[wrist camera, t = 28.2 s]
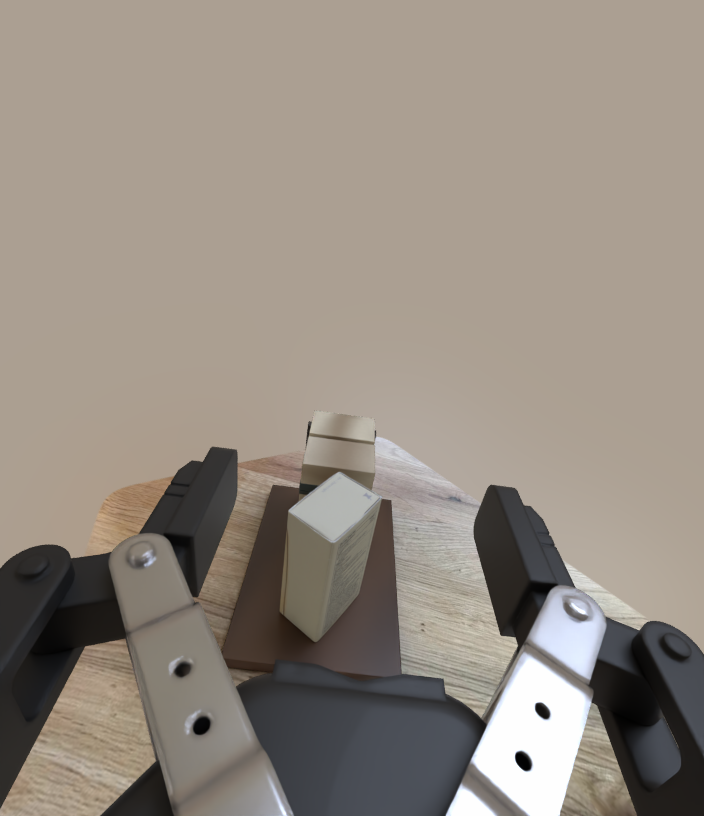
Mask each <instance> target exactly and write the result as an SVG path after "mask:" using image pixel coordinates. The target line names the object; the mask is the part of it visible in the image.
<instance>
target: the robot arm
mask: <svg viewBox="0 0 704 816" xmlns="http://www.w3.org/2000/svg"><path fill="white" fill-rule="evenodd" d="M237 459H238V458H237V450H234V449H227V448H219V447H212V448H210V450H209V452H208V454H207V456H206V457H205V459H204V461H203V462H200V461H191V462H189V463H188V464H187V465H185V466H184V467H182V468H181V469H180V470H178V472H177V473H176V475H175V477H174V478H173V480H172V481H171V484H170V485H169V486H168V488H167V489H166V491H165V494H164V495H163V496H162V497H161V499H160V501H159V502H158V504H157V505H156V507H155V509H154V510H153V512H152V514H151V515H150V517H149V518H148V520H147V522H146V523H145V525H144V526H143V528H142V530H141V531H140V533H139V534H138V535H134V536H132V537H129V538H127V539H126V540H124V541H122V542H121V543H120V544H119V545H117V546H116V547H115V549H114V550H113V551H112V552H109V553H106V554H100V555H93V556H86V557H79V558H71V557H70V554H69V552H68V551H67V550H66V549H65V548H63V547H61V546H58V545H40V546H35V547H32V548H29V549H27V550H24V551H22V552H20V553H19V554H16V555H15V556H13V557H12V558H10V559H9V560H8V561H7V562H6V563H5V564H4V565H3V566H2V567H1V568H0V808H1V806H2V804H3V802H4V801H5V799H6V797H7V795H8V793H9V791H10V789H11V787H12V785H13V783H14V781H15V780H16V778H17V776H18V774H19V772H20V770H21V768H22V766H23V764H24V762H25V760H26V758H27V757H28V755H29V753H30V751H31V749H32V747H33V745H34V743H35V741H36V739H37V737H38V735H39V734H40V732H41V730H42V728H43V726H44V724H45V722H46V720H47V718H48V716H49V714H50V713H51V711H52V709H53V707H54V705H55V703H56V701H57V699H58V697H59V695H60V693H61V691H62V690H63V688H64V686H65V684H66V682H67V680H68V678H69V676H70V674H71V672H72V670H73V669H74V667H75V665H76V663H77V661H78V659H79V657H80V655H81V653H82V651H83V649H84V647H85V646H89V645H95V644H100V643H105V642H110V641H115V640H120V639H126V643H127V647H128V651H129V655H130V659H131V663H132V667H133V671H134V675H135V679H136V682H137V686H138V690H139V694H140V698H141V702H142V707H143V711H144V715H145V719H146V723H147V727H148V731H149V735H150V739H151V743H152V747H153V751H154V755H155V759H156V762H155V763H154V764H153V765H152V766H151V767H150V768H149V769H147V770H146V771H145V772H144V773H143V774H142V775H141V776H140V777H139V778H138V779H137V780H136V781H135V782H134V783H133V784H132V785H131V786H130V787H129V788H128V789H127V790H126V791H125V792H124V793H123V794H122V795H121V796H120V797H119V798H118V799H117V800H116V801H115V802H114V803H113V804H112V805H111V806H110V807H109V808H108V809H107V810H106V811H105V812H104V813H103V814H102V815H101V816H559V814H560V810H561V807H562V803H563V800H564V796H565V793H566V789H567V786H568V782H569V779H570V775H571V772H572V768H573V765H574V761H575V758H576V754H577V751H578V747H579V744H580V740H581V737H582V733H583V730H584V726H585V723H586V719H587V715H588V712H589V708H590V705H591V702H592V703H594V704H596V705H597V706H598V709H599V712H600V715H601V717H602V720H603V723H604V725H605V728H606V731H607V734H608V736H609V739H610V742H611V745H612V747H613V750H614V753H615V756H616V758H617V761H618V764H619V767H620V769H621V772H622V775H623V778H624V780H625V783H626V786H627V789H628V791H629V794H630V797H631V800H632V802H633V805H634V808H635V811H636V813H637V816H704V654H703V653H702V651H701V650H700V648H699V647H698V646H697V645H696V644H695V643H694V642H693V641H692V640H691V639H690V638H689V637H688V636H687V635H686V634H684V633H683V632H681V631H680V630H678V629H676V628H675V627H673V626H671V625H668V624H666V623H663V622H659V621H650V622H647V623H646V624H644V626H643V627H642V628H641V629H640V630H637V629H634V628H632V627H629V626H627V625H624V624H622V623H619V622H617V621H614V620H612V619H610V618H607V617H605V615H604V613H603V611H602V609H601V608H600V606H599V605H598V604H597V603H596V602H595V601H594V600H593V599H592V598H591V597H590V596H589V595H587V594H586V593H584V592H583V591H581V590H579V589H577V588H575V586H574V584H573V581H572V579H571V577H570V575H569V573H568V571H567V569H566V567H565V565H564V563H563V561H562V558H561V556H560V554H559V552H558V550H557V548H556V547H555V546H554V542H553V540H552V538H551V536H549V531H548V529H547V527H546V525H545V523H544V521H543V519H542V518H541V517H540V516H539V515H538V514H537V513H536V512H535V511H534V510H533V508H532V507H531V506H524V505H523V503H522V500H521V498H520V496H519V494H518V491H517V490H516V489H515V488H512V487H504V486H496V485H490V486H489V487H488V488H487V491H486V493H485V496H484V498H483V501H482V503H481V506H480V508H479V511H478V514H477V516H476V519H475V522H474V539H475V543H476V547H477V551H478V554H479V558H480V562H481V565H482V569H483V573H484V576H485V580H486V584H487V587H488V591H489V595H490V598H491V602H492V605H493V609H494V613H495V616H496V620H497V624H498V627H499V631H500V635H501V636H509V637H516V640H517V644H518V647H517V649H516V650H515V652H514V654H513V656H512V658H511V660H510V662H509V664H508V666H507V668H506V670H505V672H504V674H503V676H502V678H501V680H500V682H499V685H498V687H497V689H496V691H495V693H494V695H493V697H492V699H491V701H490V703H489V705H488V706H487V708H486V710H485V712H484V714H483V716H482V718H480V717H479V716H478V715H477V714H476V713H475V712H474V711H472V710H471V709H470V708H469V707H467V706H466V705H465V704H463V703H462V702H460V701H459V700H457V699H455V698H453V697H451V696H449V695H447V694H445V687H444V680H443V679H441V678H432V677H423V676H415V675H406V674H400V675H394V676H388V677H382V678H376V679H370V680H364V681H359V680H355V679H353V678H350V677H348V676H345V675H343V674H340V673H338V672H335V671H333V670H331V669H328V668H326V667H323V666H321V665H318V664H312V663H304V662H295V661H287V660H278V659H275V664H274V669H273V673H268V674H263V675H260V676H257V677H253V678H251V679H249V680H247V681H244V682H243V683H241V684H239V685H237V686H235V684H234V682H233V679H232V677H231V675H230V672H229V670H228V667H227V665H226V663H225V660H224V658H223V655H222V653H221V651H220V648H219V646H218V644H217V641H216V639H215V636H214V634H213V632H212V629H211V627H210V624H209V622H208V620H207V617H206V615H205V613H204V610H203V608H202V606H201V605H200V603H199V602H196V603H195V601H194V600H193V597H198V596H199V593H200V591H201V588H202V586H203V583H204V580H205V578H206V575H207V573H208V570H209V568H210V565H211V563H212V560H213V558H214V555H215V553H216V550H217V548H218V545H219V543H220V540H221V538H222V535H223V533H224V530H225V528H226V525H227V522H228V520H229V517H230V515H231V512H232V510H233V507H234V504H235V500H236V496H237ZM663 716H664V717H665V719H666V721H667V723H668V725H667V723H666V721H665V719H664V717H663ZM668 726H669V727H668ZM669 728H670V729H669ZM670 730H671V731H670ZM671 732H672V733H671ZM672 734H673V735H672ZM673 736H674V738H675V740H676V742H677V744H676V742H675V740H674V738H673ZM677 745H678V746H677ZM678 747H679V748H678Z"/></svg>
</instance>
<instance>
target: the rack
mask: <svg viewBox="0 0 704 816" xmlns="http://www.w3.org/2000/svg"><path fill="white" fill-rule="evenodd" d="M374 422H375V421H374V419H372V418H365V417H357V416H350V415H343V414H336V413H329V412H321V411H314V415H313V419H312V422H310V421H309V424H308V430H307V440H306V449H305V454H304V459H303V463H302V473H301V480H300V486H299V488H294V487H286V486H279V485H273V486H272V489H271V492H270V496H269V499H268V502H267V505H266V509H265V512H264V515H263V519H262V522H261V525H260V529H259V532H258V535H257V538H256V542H255V545H254V548H253V552H252V555H251V558H250V562H249V565H248V568H247V571H246V575H245V578H244V581H243V585H242V588H241V591H240V595H239V598H238V601H237V604H236V608H235V611H234V614H233V618H232V621H231V624H230V628H229V631H228V634H227V637H226V641H225V644H224V647H223V651H222V655H223V658H224V660H225V663H226V665H227V667H230V668H239V669H247V670H256V671H265V672H273V669H274V664H275V659H278V660H287V661H295V662H304V663H312V664H318V665H321V666H323V667H326V668H328V669H331V670H333V671H335V672H338V673H340V674H343V675H345V676H348V677H350V678H353V679H355V680H359V681H364V680H370V679H376V678H382V677H388V676H394V675H400V674H402V673H401V656H400V639H399V623H398V606H397V589H396V572H395V555H394V539H393V522H392V505H391V500H385V499H382V500H381V504H380V508H379V512H378V516H377V521H376V525H375V529H374V533H373V537H372V541H371V545H370V550H369V554H368V558H367V562H366V566H365V570H364V575H363V579H362V583H361V587H360V591H359V594H358V596H357V597H356V598H355V599H354V601H353V602H352V603H351V604H350V606H349V607H348V608H347V609H346V610H345V611H344V613H343V614H342V615H341V616H340V617H339V618H338V619H337V621H336V622H335V623H334V624H333V625H332V626H331V627H330V629H329V630H328V631H327V632H326V633H325V634H324V635H323V636H322V637H321V639H320V640H319V641H318V642H314V641H313V640H311V639H310V638H309V637H308V636H307V635H306V634H304V633H303V632H302V631H301V630H300V629H299V628H298V627H296V626H295V625H294V624H293V623H292V622H291V621H290V620H288V619H287V618H286V617H285V616H284V615H283V614H282V613H281V612H280V599H281V588H282V577H283V566H284V555H285V544H286V532H287V521H288V511H289V509H291V508H292V507H293V506H294V505H296V504H297V503H298V502H299V501H301V500H302V499H303V498H304V497H306V496H307V495H308V494H309V493H310V492H312V491H313V490H315V489H316V488H317V487H318V486H320V485H321V484H322V483H324V482H325V481H326V480H328V479H329V478H330V477H332V476H333V475H335V474H336V473H338V472H341V473H343V474H345V475H346V476H348V477H350V478H351V479H353V480H355V481H357V482H358V483H360V484H362V485H363V486H365V487H367V488H368V489H370V490H372V486H373V481H374V477H375V445H374V443H375V438H376V431H375V423H374Z"/></svg>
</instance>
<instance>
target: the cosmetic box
mask: <svg viewBox="0 0 704 816" xmlns="http://www.w3.org/2000/svg"><path fill="white" fill-rule="evenodd" d="M381 500H382V496H380V495H378V494H376V493H375V492H373V491H372V490H370V489H368V488H367V487H365V486H363V485H362V484H360V483H358V482H357V481H355V480H353V479H351V478H350V477H348V476H346V475H345V474H343V473H341V472H338V473H336V474H335V475H333V476H332V477H330V478H329V479H328V480H326V481H325V482H324V483H322V484H321V485H320V486H318V487H317V488H316V489H315V490H313V491H312V492H310V493H309V494H308V495H307V496H306V497H304V498H303V499H302V500H301V501H299V502H298V503H297V504H296V505H294V506H293V507H292V508H291V509H289V511H288V521H287V532H286V544H285V555H284V566H283V577H282V588H281V599H280V612H281V613H282V614H283V615H284V616H285V617H286V618H287V619H288V620H290V621H291V622H292V623H293V624H294V625H295V626H296V627H298V628H299V629H300V630H301V631H302V632H303V633H304V634H306V635H307V636H308V637H309V638H310V639H311V640H313V641H314V642H318V641H319V640H320V639H321V637H322V636H323V635H324V634H325V633H326V632H327V631H328V630H329V629H330V627H331V626H332V625H333V624H334V623H335V622H336V621H337V619H338V618H339V617H340V616H341V615H342V614H343V613H344V611H345V610H346V609H347V608H348V607H349V606H350V604H351V603H352V602H353V601H354V599H355V598H356V597H357V596H358V594H359V591H360V587H361V583H362V579H363V575H364V570H365V566H366V562H367V558H368V554H369V550H370V545H371V541H372V537H373V533H374V529H375V525H376V521H377V516H378V512H379V508H380V504H381Z"/></svg>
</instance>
